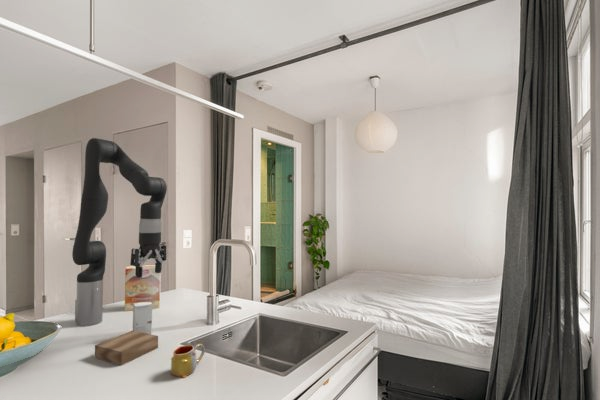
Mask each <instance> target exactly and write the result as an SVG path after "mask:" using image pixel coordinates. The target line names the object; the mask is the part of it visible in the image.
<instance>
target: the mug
mask: <svg viewBox="0 0 600 400" xmlns="http://www.w3.org/2000/svg"><path fill="white" fill-rule="evenodd" d="M199 347H200V348H201V353H200V355H199V356H198V357H197V353H196V350H197V349H198V348H199ZM205 353H206V348H205V346H204V344H202V343H197V344H196V345H195V346H194V345H182V346H181V345H180V346H178V347H177V348H176V349H174V350H173V354H172V355H173V356H172V357H171V359H170V360H171V363H170V370H171V371H170V375H174V376H175V377H177V378H178V377H179V378H183V379H184V378H187V377H188V376H190V375H192V374H194V372H195V370H196V368H197V365H198V364H199V363H200V362H201V360H202V359H203V357H204V355H205Z"/></svg>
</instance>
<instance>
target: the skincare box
mask: <svg viewBox="0 0 600 400" xmlns="http://www.w3.org/2000/svg"><path fill="white" fill-rule="evenodd" d="M152 322H153V309H152V303H151V302H141V303H134V304H133V310H132V331H137V332H142V333H146V334H151V335H152V330H153V329H152V328H153V327H152V326H153V325H152V324H153V323H152Z"/></svg>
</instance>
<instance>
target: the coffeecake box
mask: <svg viewBox="0 0 600 400" xmlns="http://www.w3.org/2000/svg"><path fill="white" fill-rule="evenodd" d="M142 267H143V271H142V277H141V278H139V277H136V275H135V273H136V267H135V266H132V265H129V266H128V265H127V266H126V267H125V270H124V271H125V273H124V274H125V277H124V278H125V280H124V283H125V284H124V311H125V312H131V311H133V304H134V303H141V302H151V303H152V310H153V309H159V308H160V307H161V279H162V278H161V273H155V264H148V265H144V264H143V265H142Z"/></svg>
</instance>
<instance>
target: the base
mask: <svg viewBox="0 0 600 400" xmlns="http://www.w3.org/2000/svg"><path fill="white" fill-rule="evenodd" d="M157 349H159V336H158V335H157V334H152V333H151V334H146V333H142V332H137V331H133V330H131V331H128V332H126V333H123V334H121V335H120V334H119V335H118V336H115V337H113V338H110V339H107V340H105V341H103V342H100V343H97V344H95V345H94V358H95V359H97V360H100V361H104V362H108V363H111V364H114V365H117V366H123V365H125V364H127V363H129V362H132V361H134V360H136V359H139V358H140V357H142V356H144V355H146V354H149V353H151V352H152V351H154V350H157Z"/></svg>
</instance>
